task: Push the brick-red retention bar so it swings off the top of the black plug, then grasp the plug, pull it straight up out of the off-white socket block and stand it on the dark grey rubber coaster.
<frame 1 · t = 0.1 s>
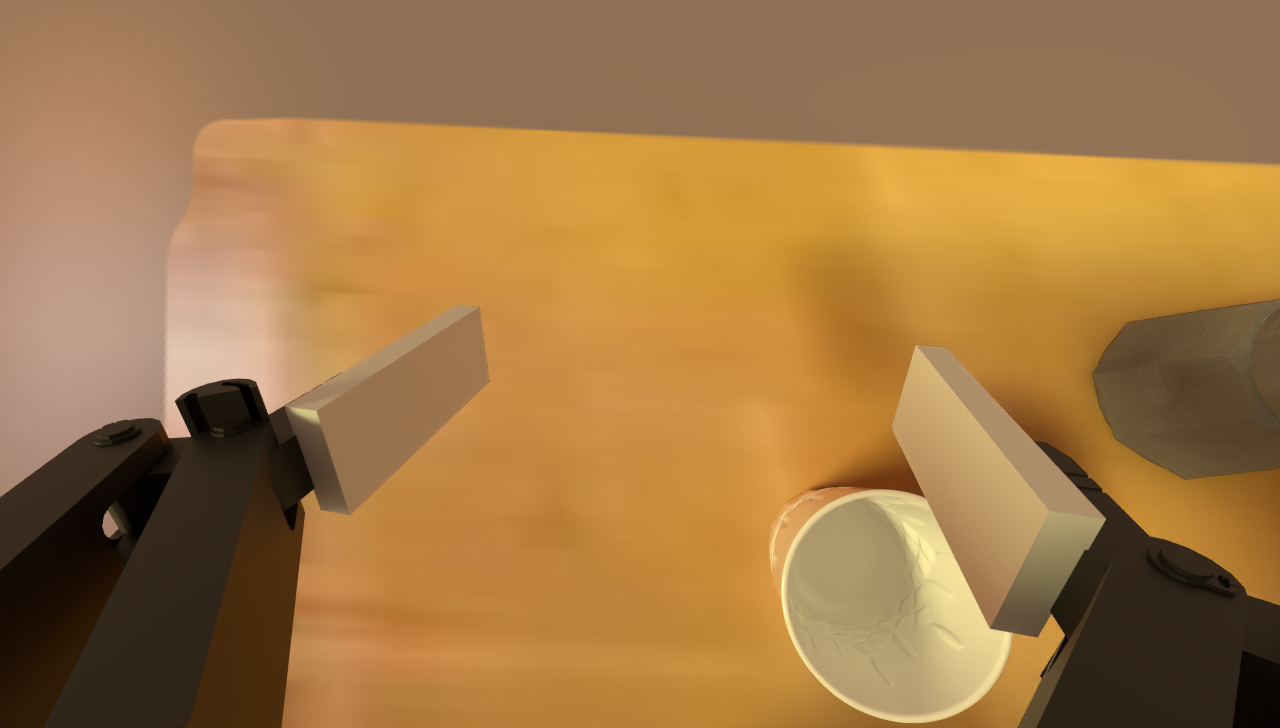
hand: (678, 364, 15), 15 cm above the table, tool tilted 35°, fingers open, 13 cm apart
white cup: (828, 548, 27), on the table
coffeepot: (1200, 383, 26), on the table
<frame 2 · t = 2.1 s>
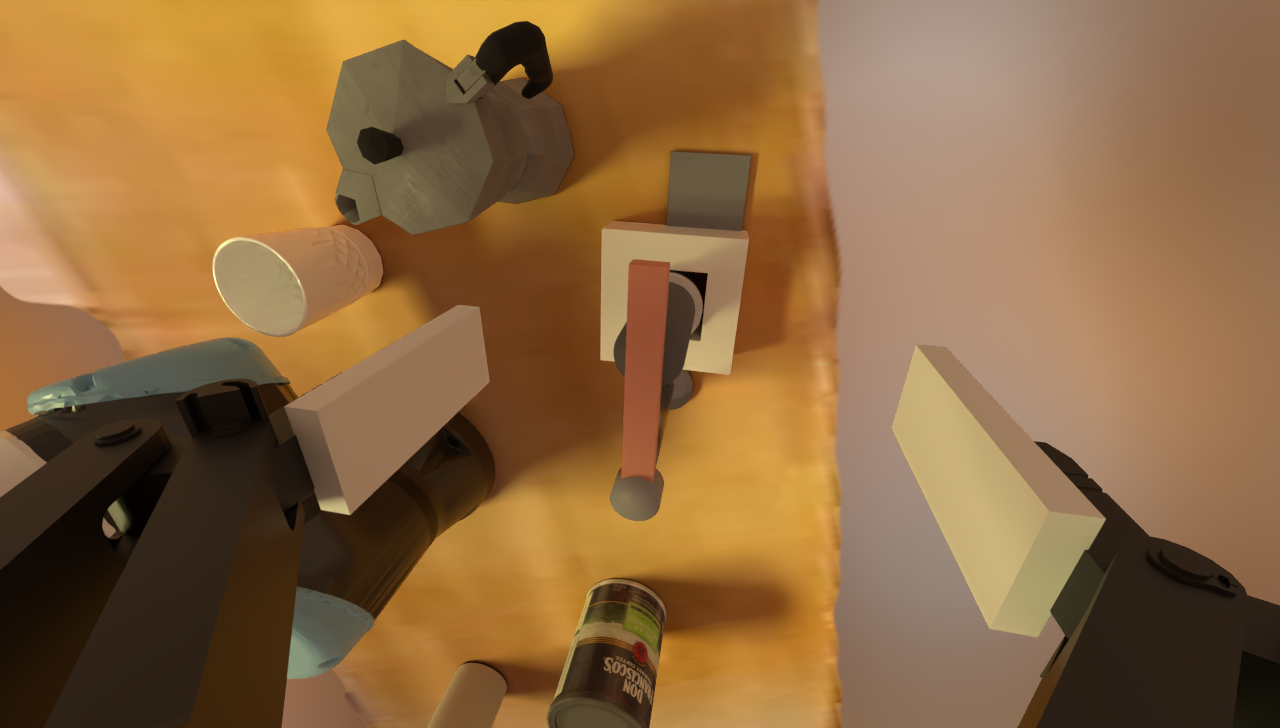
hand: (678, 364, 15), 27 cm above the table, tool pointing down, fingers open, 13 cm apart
clip post: (666, 382, 45), on the table
plug: (663, 317, 35), in the socket block
clip: (642, 402, 28), point 16 cm above the table, hinge at 0.0°
socket block: (674, 290, 41), on the table
white cup: (353, 260, 46), on the table
coaster: (706, 194, 38), on the table
coffeepot: (531, 135, 38), on the table
coffee can: (625, 606, 60), on the table
travel mug: (483, 676, 71), on the table
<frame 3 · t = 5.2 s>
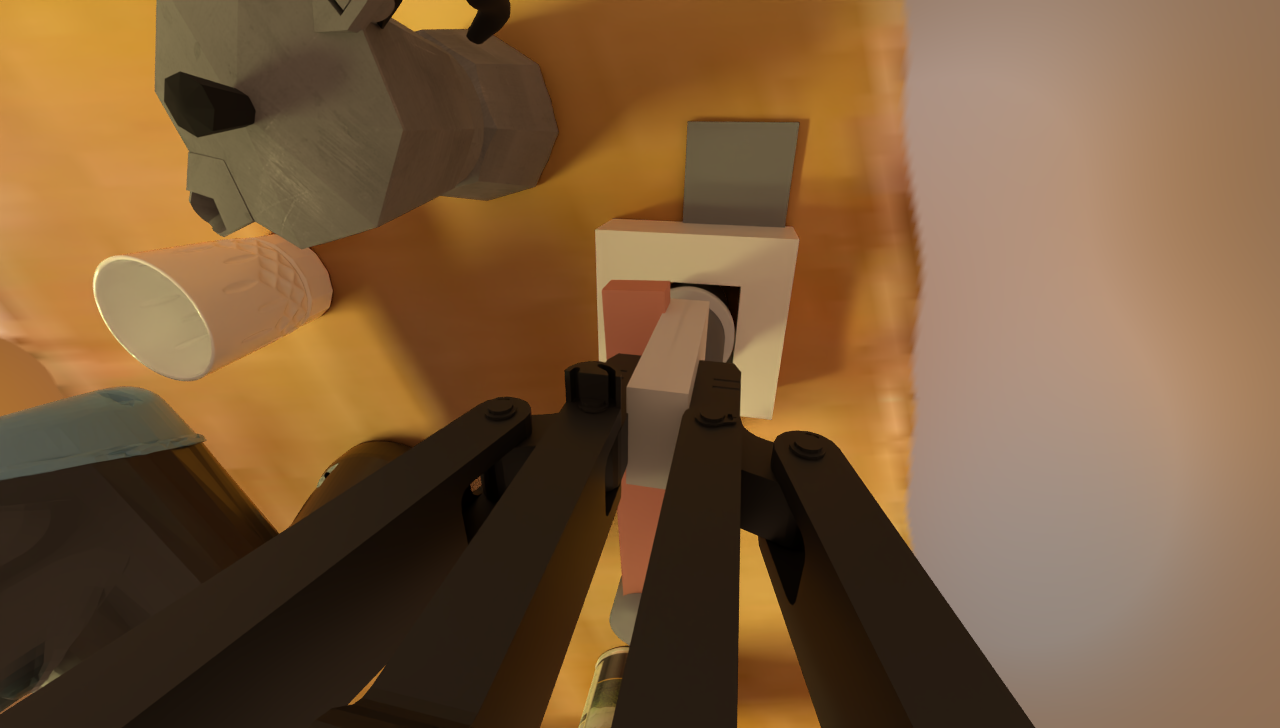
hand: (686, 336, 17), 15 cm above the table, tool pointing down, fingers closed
plug: (681, 349, 26), in the socket block
clip: (644, 490, 19), point 16 cm above the table, hinge at 2.8°, touching gripper
socket block: (694, 307, 32), on the table
white cup: (296, 276, 37), on the table
coaster: (737, 179, 28), on the table
coffeepot: (501, 109, 29), on the table
coffee can: (642, 676, 50), on the table
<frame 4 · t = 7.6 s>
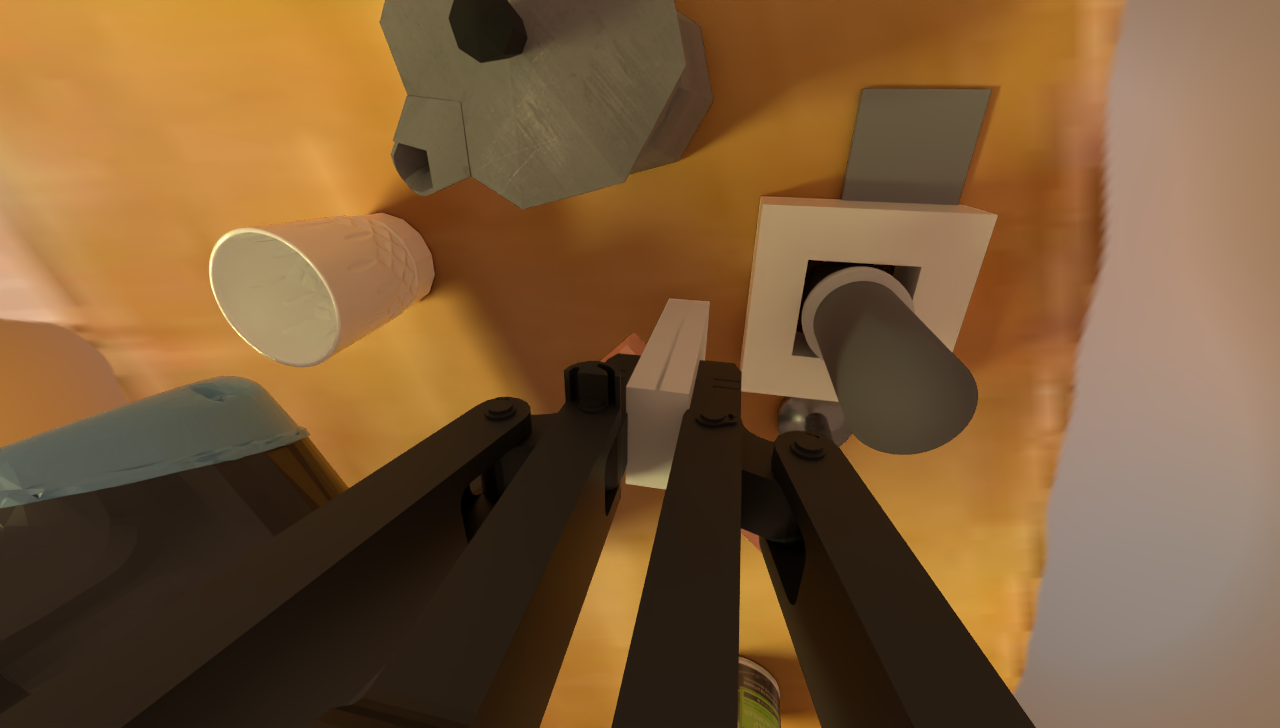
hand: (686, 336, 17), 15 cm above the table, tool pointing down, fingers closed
clip post: (814, 416, 34), on the table
plug: (864, 333, 24), in the socket block
clip: (760, 508, 18), point 16 cm above the table, hinge at 45.2°, touching gripper
socket block: (839, 293, 30), on the table
white cup: (395, 259, 35), on the table
coaster: (907, 153, 26), on the table
coffeepot: (648, 76, 27), on the table
coffee can: (726, 683, 48), on the table
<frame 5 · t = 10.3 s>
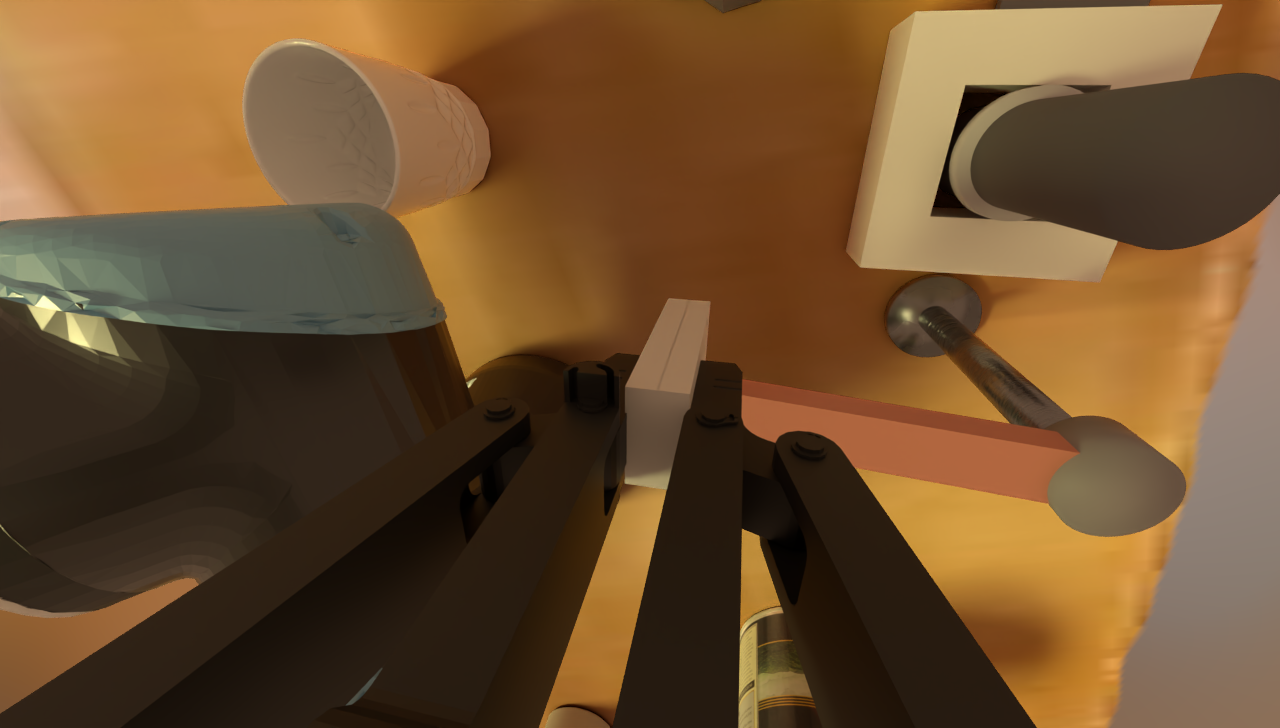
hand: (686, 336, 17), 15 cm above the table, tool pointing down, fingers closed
clip post: (928, 314, 29), on the table
plug: (1050, 158, 19), in the socket block
clip: (876, 436, 16), point 16 cm above the table, hinge at 85.9°, touching gripper
socket block: (976, 153, 25), on the table
white cup: (444, 140, 31), on the table
coffee can: (795, 642, 44), on the table
travel mug: (582, 723, 56), on the table
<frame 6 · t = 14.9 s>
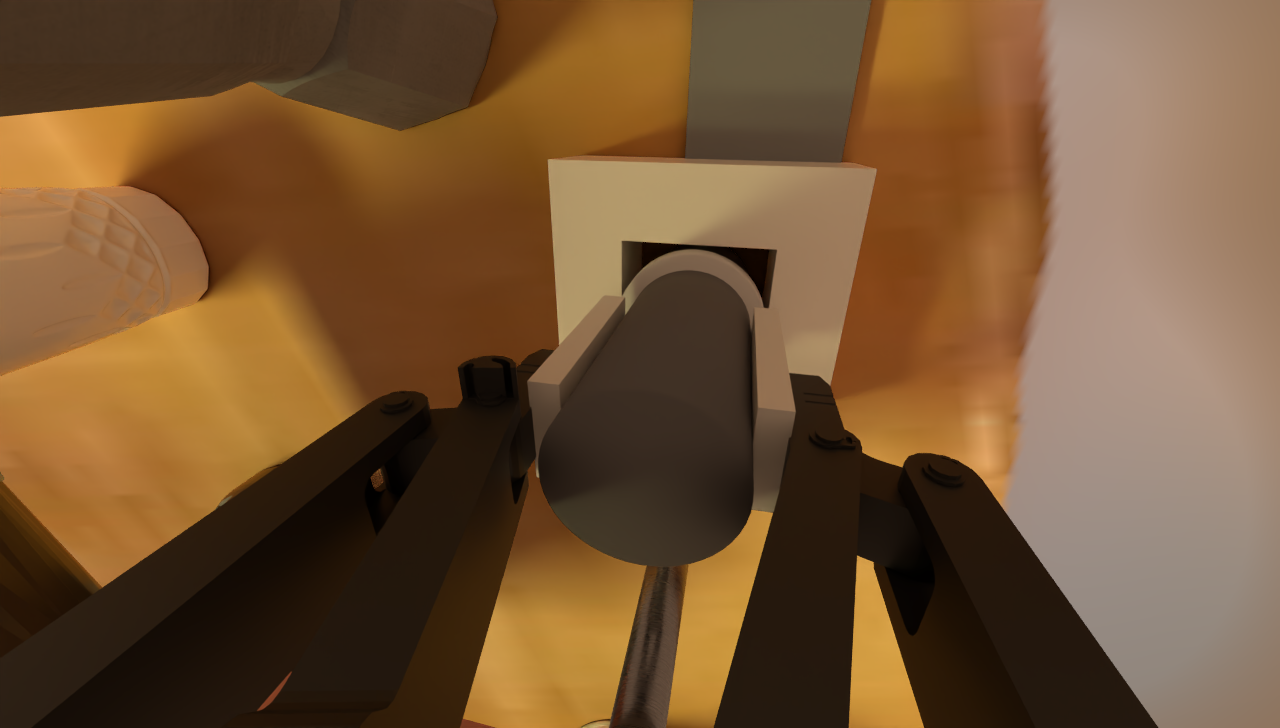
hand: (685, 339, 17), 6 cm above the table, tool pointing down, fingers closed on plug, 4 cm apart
clip post: (689, 449, 26), on the table
plug: (682, 348, 16), in the socket block, touching gripper
socket block: (701, 288, 22), on the table
white cup: (162, 247, 28), on the table
coaster: (769, 88, 18), on the table
when the fingers open (8 cm above the table, at t = 21.4 s): plug drops 1 cm, resting on coaster.
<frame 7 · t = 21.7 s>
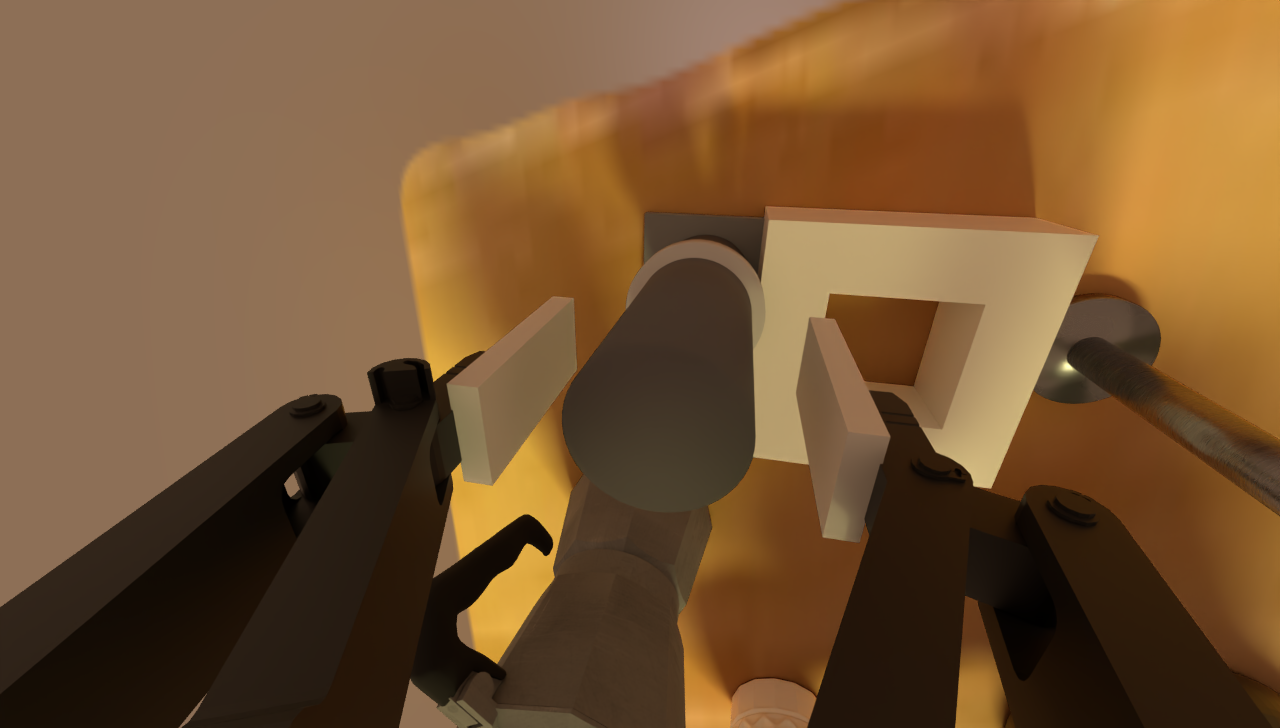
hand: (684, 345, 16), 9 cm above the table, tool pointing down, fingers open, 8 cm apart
clip post: (1077, 346, 22), on the table
plug: (688, 329, 17), on the coaster
socket block: (866, 329, 23), on the table
white cup: (776, 702, 37), on the table
coaster: (704, 277, 24), on the table
coffeepot: (632, 491, 31), on the table
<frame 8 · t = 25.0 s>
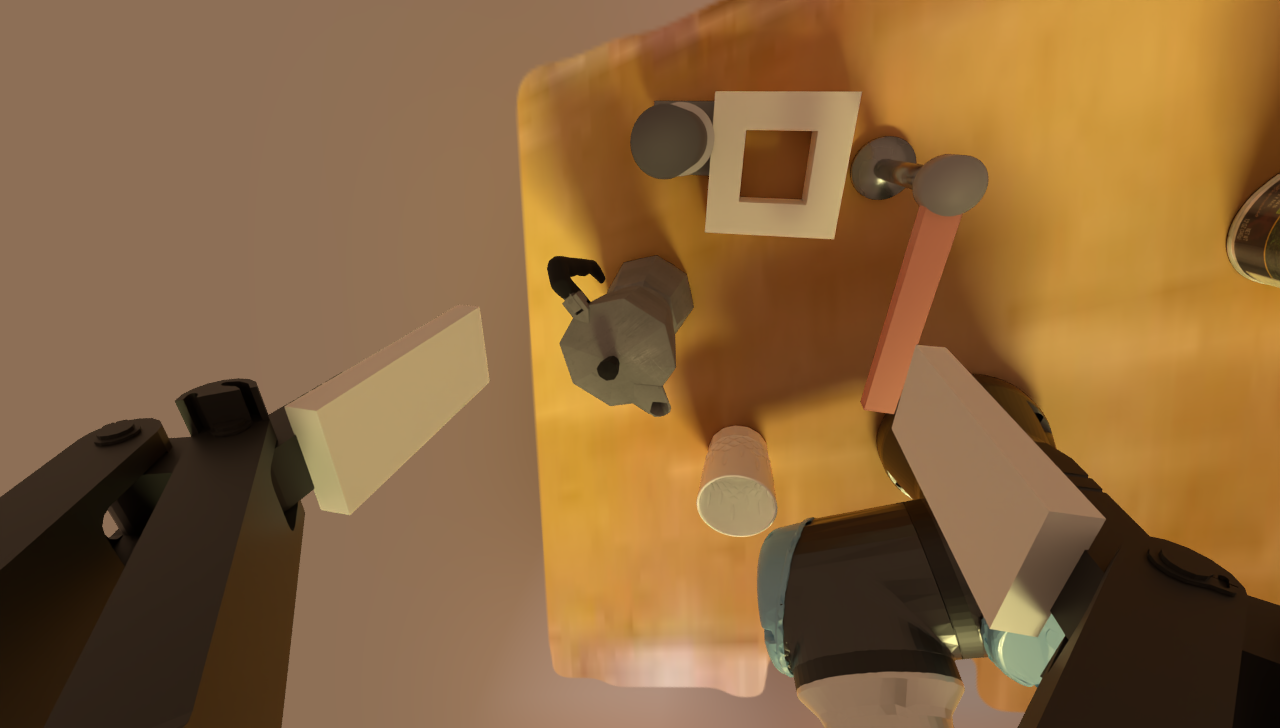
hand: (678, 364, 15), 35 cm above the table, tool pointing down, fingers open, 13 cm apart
clip post: (881, 168, 41), on the table
plug: (677, 140, 37), on the coaster
clip: (912, 296, 30), point 16 cm above the table, hinge at 87.7°
socket block: (774, 165, 43), on the table
white cup: (738, 447, 57), on the table
coaster: (687, 138, 43), on the table
coffeepot: (645, 289, 51), on the table
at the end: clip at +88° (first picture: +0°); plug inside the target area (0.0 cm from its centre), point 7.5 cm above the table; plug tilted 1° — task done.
